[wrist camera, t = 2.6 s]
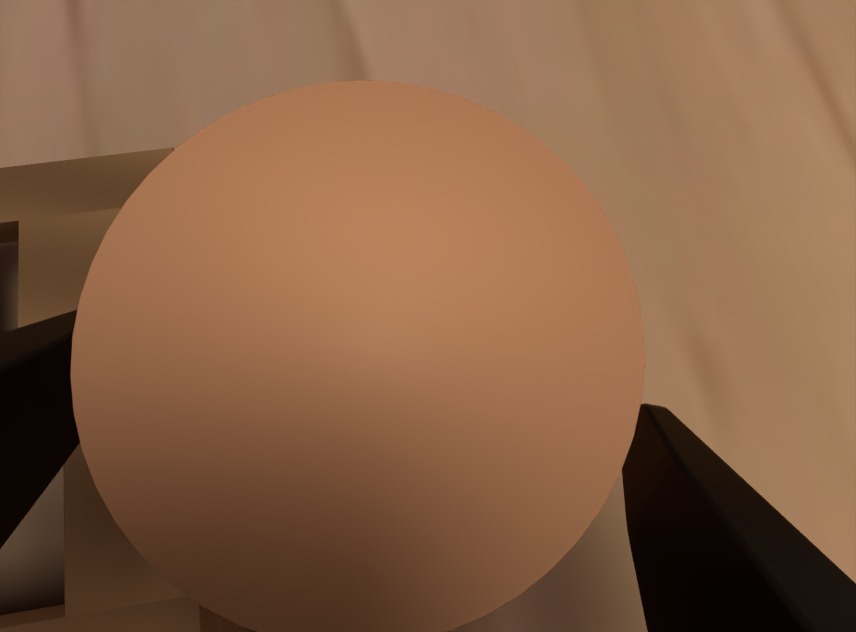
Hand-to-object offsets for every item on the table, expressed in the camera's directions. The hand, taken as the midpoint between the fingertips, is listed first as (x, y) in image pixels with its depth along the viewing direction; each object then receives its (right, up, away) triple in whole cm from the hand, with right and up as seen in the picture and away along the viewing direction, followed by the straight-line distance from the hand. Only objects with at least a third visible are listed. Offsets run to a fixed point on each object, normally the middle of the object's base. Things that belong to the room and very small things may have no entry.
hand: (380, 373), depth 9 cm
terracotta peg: (0, -1, +8) cm, 8 cm away
